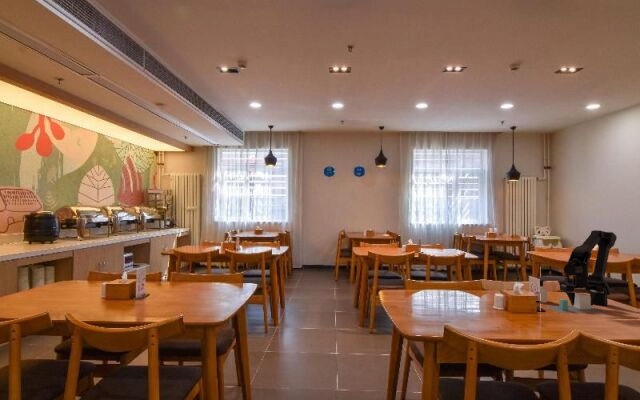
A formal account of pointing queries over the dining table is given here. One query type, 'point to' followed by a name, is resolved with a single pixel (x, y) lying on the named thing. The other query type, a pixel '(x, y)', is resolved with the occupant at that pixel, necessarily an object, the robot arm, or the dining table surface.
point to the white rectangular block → (582, 301)
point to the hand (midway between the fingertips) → (582, 305)
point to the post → (563, 304)
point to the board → (574, 310)
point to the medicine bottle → (543, 292)
